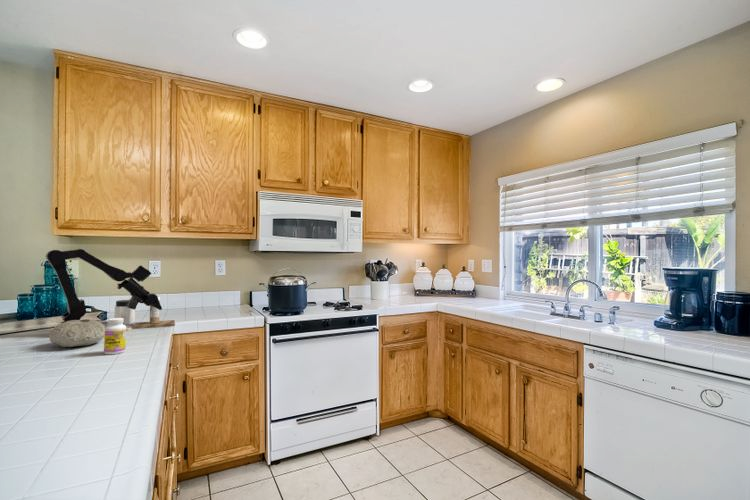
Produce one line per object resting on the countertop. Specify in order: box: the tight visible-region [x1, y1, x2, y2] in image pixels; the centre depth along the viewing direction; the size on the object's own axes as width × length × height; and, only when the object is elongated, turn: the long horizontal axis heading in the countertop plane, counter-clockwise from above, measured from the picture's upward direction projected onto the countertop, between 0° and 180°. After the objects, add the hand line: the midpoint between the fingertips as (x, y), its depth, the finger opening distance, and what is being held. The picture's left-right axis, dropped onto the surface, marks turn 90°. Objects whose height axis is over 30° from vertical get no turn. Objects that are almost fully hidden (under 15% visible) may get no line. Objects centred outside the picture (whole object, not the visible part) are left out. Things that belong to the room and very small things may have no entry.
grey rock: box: [48, 318, 106, 348], centre depth 145 cm, size 18×18×10 cm
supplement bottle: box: [103, 318, 127, 356], centre depth 135 cm, size 7×7×13 cm
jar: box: [114, 299, 136, 325], centre depth 190 cm, size 9×8×12 cm
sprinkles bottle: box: [148, 296, 161, 324], centre depth 186 cm, size 5×5×14 cm
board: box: [132, 319, 176, 330], centre depth 186 cm, size 18×11×1 cm, turn 121°
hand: (158, 308), depth 188 cm, fingers open, 9 cm apart
